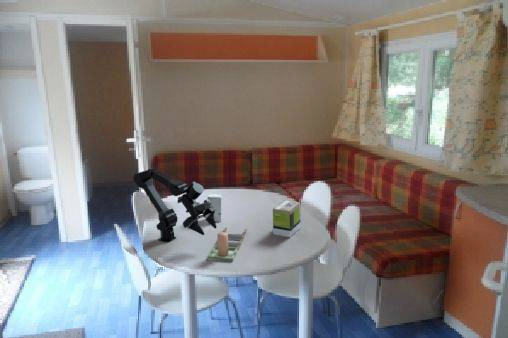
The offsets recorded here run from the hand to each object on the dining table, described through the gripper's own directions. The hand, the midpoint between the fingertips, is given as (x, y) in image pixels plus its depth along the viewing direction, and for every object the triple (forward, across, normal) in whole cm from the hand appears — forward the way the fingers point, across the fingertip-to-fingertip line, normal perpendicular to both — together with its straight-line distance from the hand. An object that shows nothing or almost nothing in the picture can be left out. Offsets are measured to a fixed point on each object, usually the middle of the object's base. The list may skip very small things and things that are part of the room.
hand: (210, 231), depth 179 cm
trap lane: (+9, +11, +5) cm, 15 cm away
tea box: (+22, +40, -7) cm, 46 cm away
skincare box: (-8, +34, +24) cm, 42 cm away
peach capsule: (+12, 0, +2) cm, 12 cm away
